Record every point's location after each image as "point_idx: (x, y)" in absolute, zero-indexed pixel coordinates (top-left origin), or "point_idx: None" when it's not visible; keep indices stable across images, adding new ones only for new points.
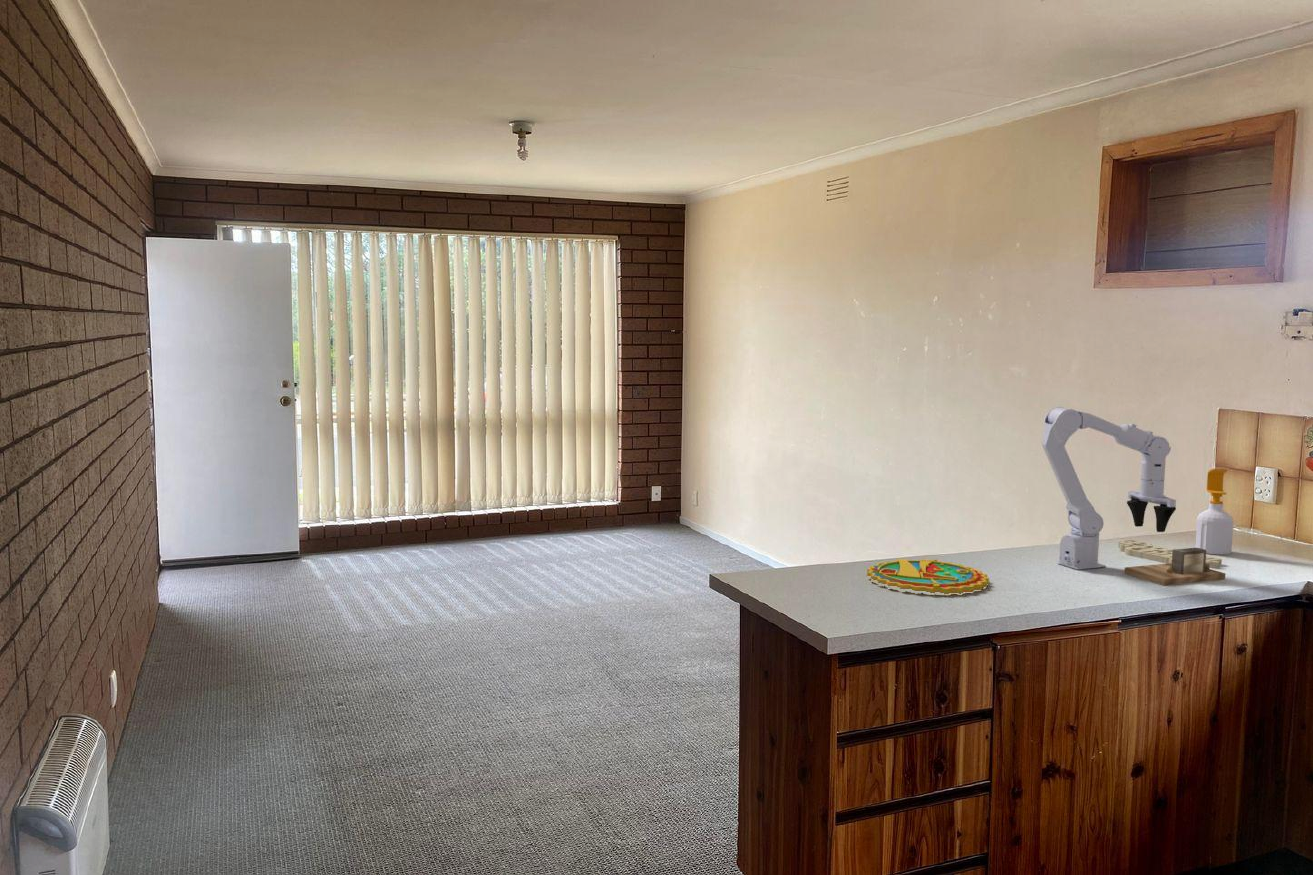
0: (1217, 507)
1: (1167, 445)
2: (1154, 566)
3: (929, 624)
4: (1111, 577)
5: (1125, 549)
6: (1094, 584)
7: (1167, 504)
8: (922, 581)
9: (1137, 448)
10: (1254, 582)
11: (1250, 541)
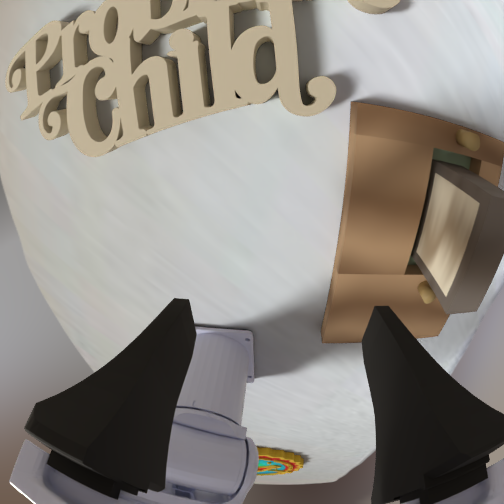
0: None
1: None
2: (359, 270)
3: (347, 470)
4: (331, 366)
5: (89, 154)
6: (348, 400)
7: (461, 495)
8: (270, 471)
9: None
10: None
11: None
